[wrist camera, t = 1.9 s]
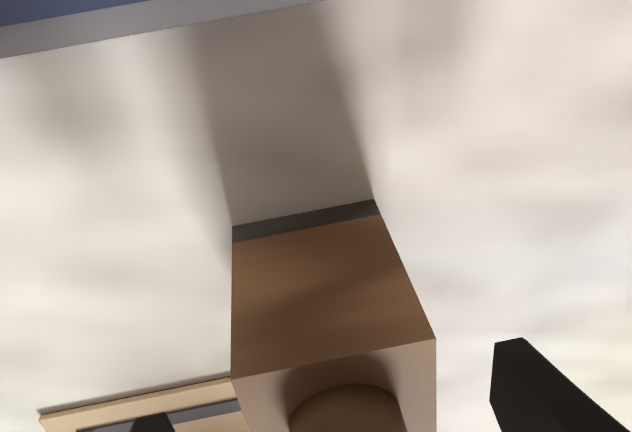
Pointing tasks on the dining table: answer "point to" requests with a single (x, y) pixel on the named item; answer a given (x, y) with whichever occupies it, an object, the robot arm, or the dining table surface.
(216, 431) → the card sheet
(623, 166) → the dining table surface
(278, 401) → the stamp
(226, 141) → the dining table surface
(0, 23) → the ink pad
